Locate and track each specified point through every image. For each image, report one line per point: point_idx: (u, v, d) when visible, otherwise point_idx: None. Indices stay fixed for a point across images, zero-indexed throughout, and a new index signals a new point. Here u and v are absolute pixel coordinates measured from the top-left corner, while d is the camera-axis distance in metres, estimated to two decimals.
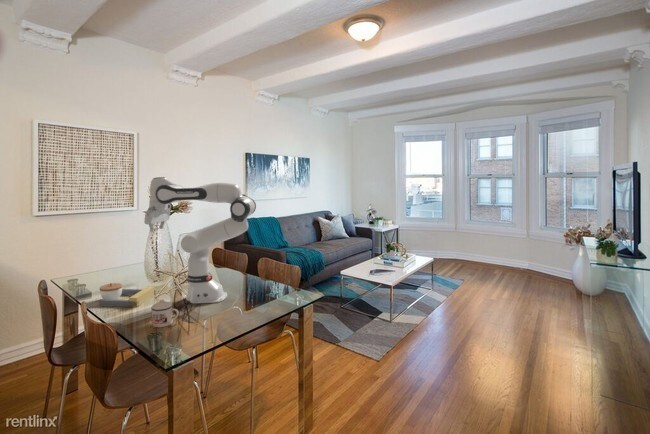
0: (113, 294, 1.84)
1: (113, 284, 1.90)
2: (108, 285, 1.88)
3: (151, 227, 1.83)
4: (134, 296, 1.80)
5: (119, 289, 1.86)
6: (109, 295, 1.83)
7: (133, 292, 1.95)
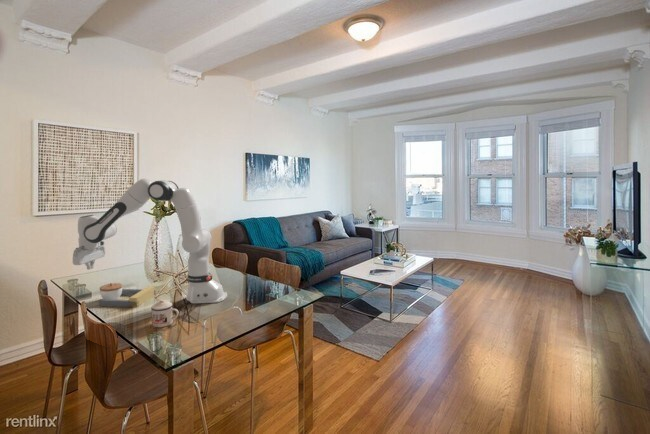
0: (113, 294, 1.84)
1: (113, 284, 1.90)
2: (108, 285, 1.88)
3: (87, 265, 1.84)
4: (134, 296, 1.80)
5: (119, 289, 1.86)
6: (109, 295, 1.83)
7: (133, 292, 1.95)
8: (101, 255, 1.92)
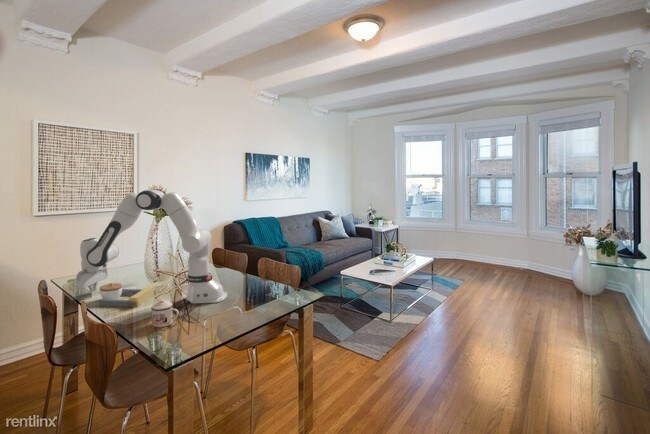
0: (113, 294, 1.84)
1: (113, 284, 1.90)
2: (108, 285, 1.88)
3: (90, 288, 1.86)
4: (134, 296, 1.80)
5: (119, 289, 1.86)
6: (109, 295, 1.83)
7: (133, 292, 1.95)
8: (104, 277, 1.94)
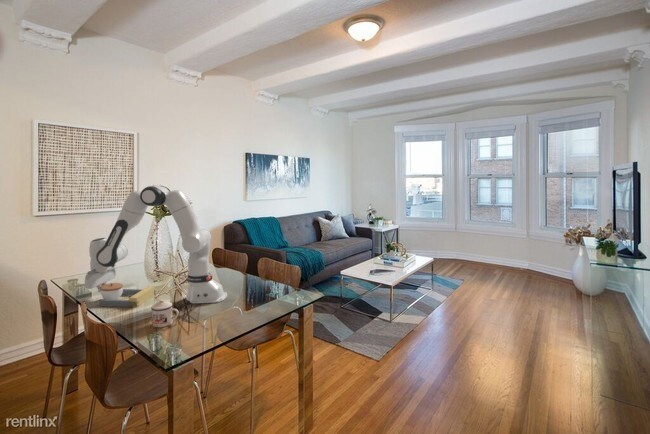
0: (114, 294, 1.84)
1: (114, 284, 1.90)
2: (109, 285, 1.88)
3: (99, 287, 1.85)
4: (134, 296, 1.80)
5: (120, 289, 1.86)
6: (110, 295, 1.83)
7: (133, 292, 1.95)
8: (112, 277, 1.94)
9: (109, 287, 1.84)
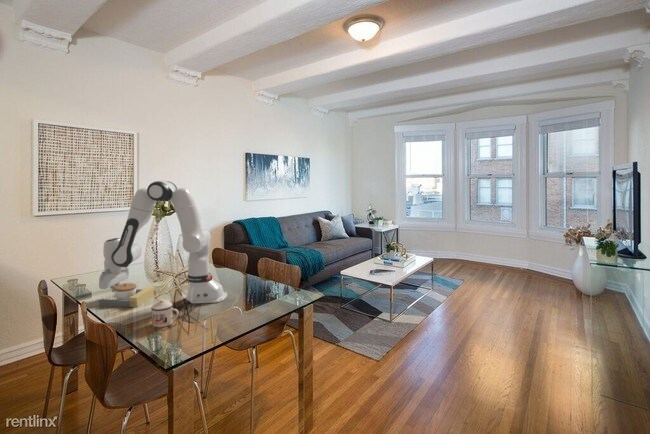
0: (127, 294, 1.83)
1: (127, 284, 1.89)
2: (122, 285, 1.87)
3: (112, 288, 1.85)
4: (134, 296, 1.80)
5: (133, 290, 1.86)
6: (123, 295, 1.83)
7: None
8: (125, 277, 1.93)
9: (123, 287, 1.84)
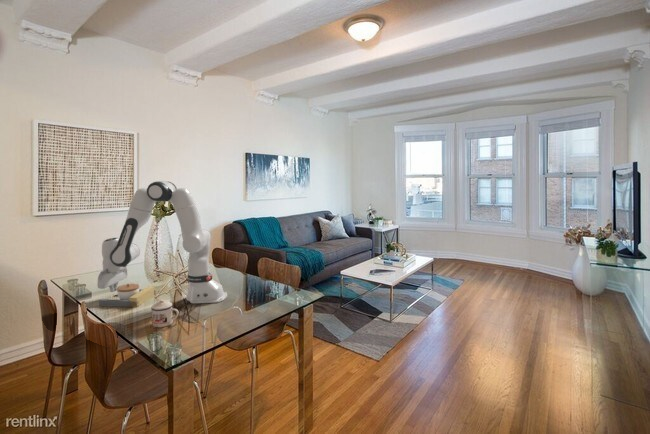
0: (130, 295, 1.83)
1: (130, 285, 1.89)
2: (125, 286, 1.87)
3: (111, 287, 1.85)
4: (134, 296, 1.80)
5: (136, 290, 1.86)
6: (126, 296, 1.82)
7: None
8: (124, 277, 1.93)
9: (126, 288, 1.84)
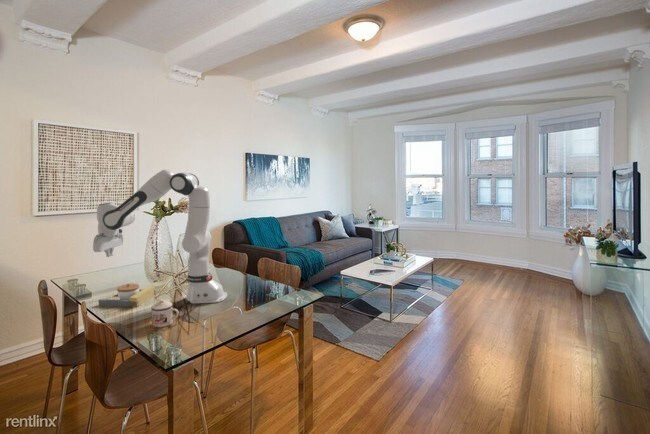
0: (130, 295, 1.83)
1: (130, 285, 1.89)
2: (125, 286, 1.87)
3: (107, 252, 1.85)
4: (134, 296, 1.80)
5: (136, 290, 1.86)
6: (126, 296, 1.82)
7: None
8: (119, 243, 1.93)
9: (126, 288, 1.84)
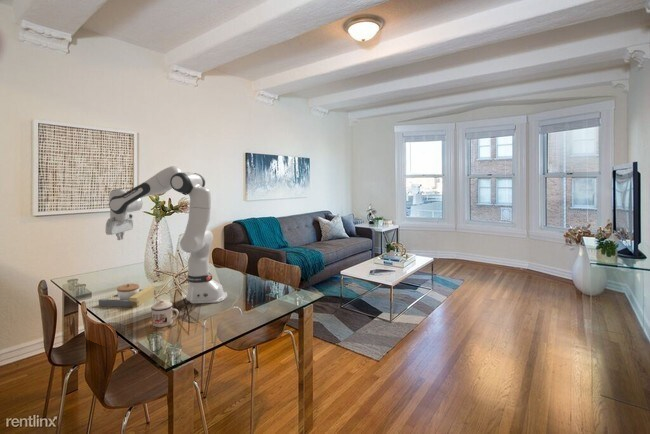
0: (130, 295, 1.83)
1: (130, 285, 1.89)
2: (125, 286, 1.87)
3: (118, 236, 1.97)
4: (134, 296, 1.80)
5: (136, 290, 1.86)
6: (126, 296, 1.82)
7: None
8: (130, 228, 2.05)
9: (126, 288, 1.84)
